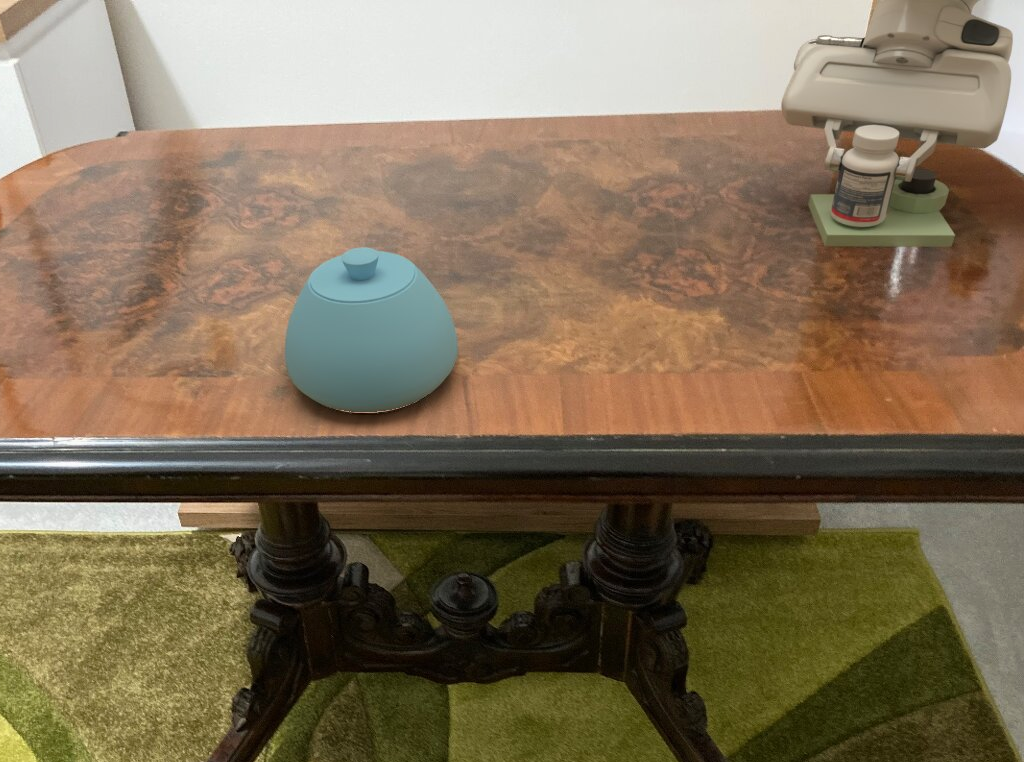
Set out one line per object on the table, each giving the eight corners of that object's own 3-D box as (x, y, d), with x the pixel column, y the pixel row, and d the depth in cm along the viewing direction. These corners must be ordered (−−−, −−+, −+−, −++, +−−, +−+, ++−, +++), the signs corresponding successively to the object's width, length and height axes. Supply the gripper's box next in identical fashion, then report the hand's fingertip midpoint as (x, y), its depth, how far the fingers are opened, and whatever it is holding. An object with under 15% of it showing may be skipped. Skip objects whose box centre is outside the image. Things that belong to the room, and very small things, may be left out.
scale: (931, 202, 100) (939, 175, 98) (961, 248, 91) (970, 219, 90) (806, 202, 102) (811, 176, 100) (824, 247, 94) (830, 219, 92)
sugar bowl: (270, 421, 77) (243, 299, 69) (311, 327, 88) (292, 214, 81) (448, 426, 74) (440, 300, 67) (467, 329, 86) (462, 213, 79)
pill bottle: (847, 202, 98) (867, 118, 92) (894, 216, 94) (918, 129, 89) (819, 218, 95) (837, 132, 90) (866, 233, 92) (888, 145, 86)
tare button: (927, 184, 97) (932, 168, 96) (935, 195, 95) (940, 179, 94) (897, 184, 98) (901, 168, 97) (904, 196, 96) (908, 179, 94)
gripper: (802, 16, 93) (758, 144, 93) (1032, 33, 84) (984, 175, 84) (805, 50, 99) (764, 171, 99) (1022, 69, 90) (976, 202, 89)
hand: (867, 173), depth 91 cm, fingers closed on pill bottle, 5 cm apart
